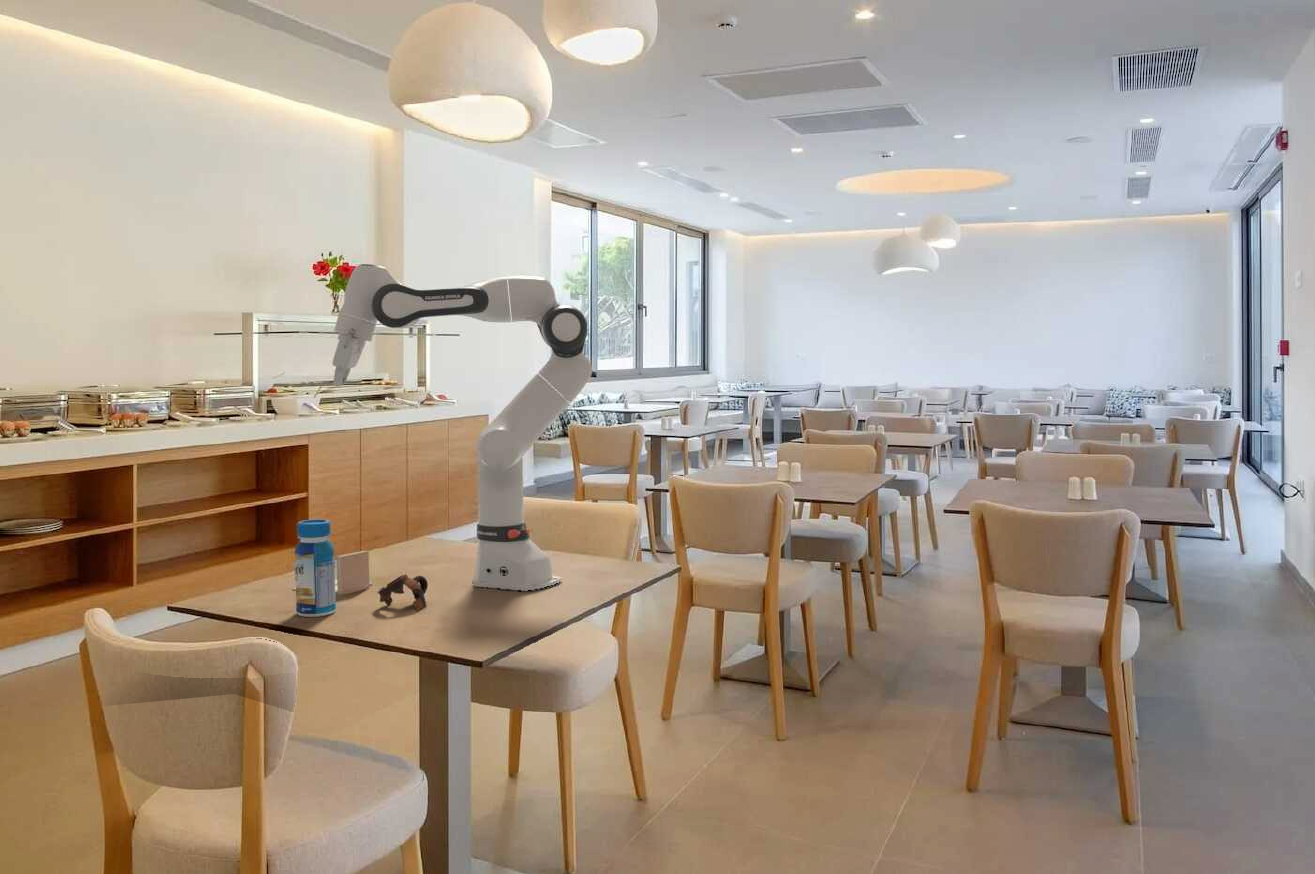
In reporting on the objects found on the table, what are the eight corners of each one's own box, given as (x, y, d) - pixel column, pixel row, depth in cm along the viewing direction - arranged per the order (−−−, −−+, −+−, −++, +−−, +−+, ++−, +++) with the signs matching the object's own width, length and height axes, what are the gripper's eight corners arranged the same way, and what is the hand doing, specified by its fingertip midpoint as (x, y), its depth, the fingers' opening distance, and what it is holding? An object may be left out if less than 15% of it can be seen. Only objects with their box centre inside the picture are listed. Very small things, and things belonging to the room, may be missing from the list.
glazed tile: (369, 588, 237) (368, 551, 237) (342, 594, 231) (340, 556, 230) (364, 587, 238) (363, 550, 238) (337, 594, 232) (336, 556, 231)
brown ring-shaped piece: (413, 616, 213) (392, 584, 212) (385, 630, 218) (365, 598, 217) (445, 590, 223) (425, 560, 222) (418, 604, 228) (399, 574, 227)
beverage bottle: (336, 616, 211) (333, 523, 210) (294, 619, 209) (291, 525, 207) (337, 606, 219) (334, 517, 218) (296, 609, 217) (293, 519, 215)
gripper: (363, 333, 227) (347, 390, 227) (371, 333, 247) (355, 387, 247) (336, 324, 225) (319, 383, 226) (345, 326, 245) (330, 379, 246)
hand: (338, 385), depth 237 cm, fingers open, 8 cm apart
